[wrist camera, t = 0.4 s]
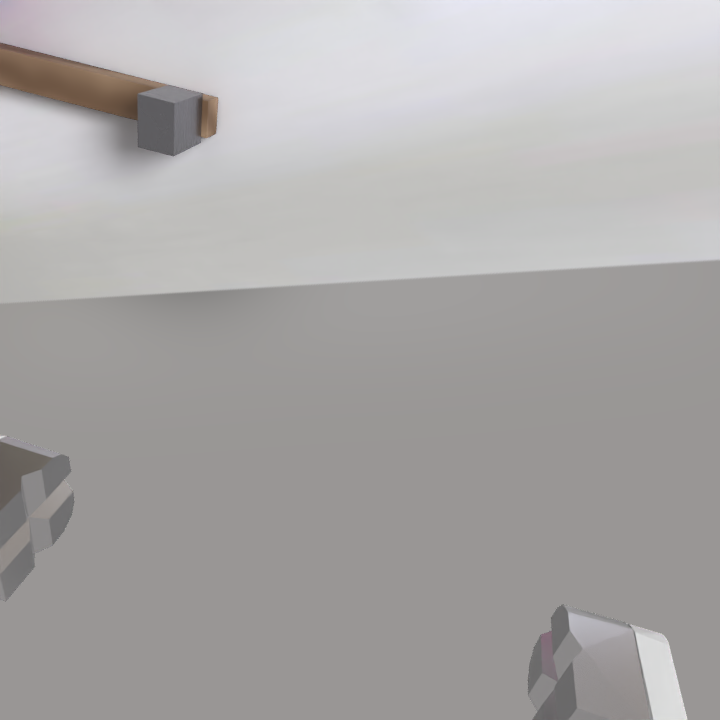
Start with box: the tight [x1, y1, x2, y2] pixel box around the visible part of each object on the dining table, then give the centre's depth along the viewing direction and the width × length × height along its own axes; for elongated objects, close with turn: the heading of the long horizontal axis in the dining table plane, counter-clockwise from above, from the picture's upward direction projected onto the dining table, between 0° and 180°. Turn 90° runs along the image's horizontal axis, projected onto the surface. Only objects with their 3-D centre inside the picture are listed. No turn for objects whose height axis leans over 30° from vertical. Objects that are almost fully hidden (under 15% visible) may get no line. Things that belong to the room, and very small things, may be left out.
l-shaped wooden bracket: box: [0, 43, 218, 156], centre depth 48 cm, size 16×28×7 cm, turn 79°
